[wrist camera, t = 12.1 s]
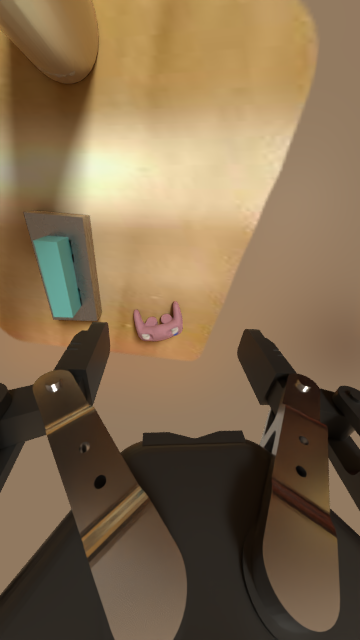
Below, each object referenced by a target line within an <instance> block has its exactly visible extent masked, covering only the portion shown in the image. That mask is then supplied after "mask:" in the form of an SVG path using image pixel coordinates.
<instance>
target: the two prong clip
mask: <svg viewBox="0 0 360 640" xmlns="http://www.w3.org/2000/svg"><path fill="white" fill-rule="evenodd" d="M33 242H34V246H35V250H36V253H37V257H38V261H39V264H40V268H41V272H42V275H43V279H44V282H45V286H46V290H47V293H48V297H49V301H50V304H51V308H52V312H53V315H54V317H68V318H73V317H74V316H75V314H76V313H77V311H78V310H79V309H80V307H81V303H80V297H81V295H80V289H79V288H78V287H77V282H76V276H75V271H74V265H73V260H72V254H73V251H72V245H71V240H69V239H68V237H60V236H44V237H42V238H39V239H36V240H33Z"/></svg>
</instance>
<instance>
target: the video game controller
mask: <svg viewBox="0 0 360 640" xmlns="http://www.w3.org/2000/svg"><path fill="white" fill-rule="evenodd" d="M134 321H135V326H136V330H137V333H138V336H139V337H140V339H141V340H143V341H160V340H165V339H168V338H171V337H173V336H175V335H178V334H180V333H181V332H182V329H183V326H182V315H181V311H180V308H179V305H178V303H177V302H176V301H174V303H173V318H172V317H171V316H170V315H169V314H164V315H162V317H161V321H162V323H163V324H160V325H157V324H158V322H157V319H156V318H155V317H150V318H148V319H147V321H146V323H145V324H144V322H143V321H142V318H141V315H140V313H139V311H138V310H135V311H134Z"/></svg>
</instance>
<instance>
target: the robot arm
mask: <svg viewBox="0 0 360 640" xmlns="http://www.w3.org/2000/svg"><path fill="white" fill-rule="evenodd" d="M0 29H1V30H2V31H3V32H4V34H5V35H6V36H7V37H8V38H9V39H10V40H11V41H12V42H13V43H14V44H15V45H16V46H17V47H18V48H19V49H20V50H21V51H22V52H23V53H24V54H25V55H26V57H27V58H28V59H29V60H30V61H31V62H32V63H33V64H34V65H35V66H36V67H37V68H38V69H39V70H40V71H42V72H43V73H44V74H45V75H46V76H48V77H49V78H51V79H53V80H55V81H57V82H61V83H64V84H73V83H76V82H79V81H81V80H82V79H84V78H85V77H86V76H87V75H88V74H89V72H90V71H91V70H92V67H93V65H94V63H95V61H96V56H97V52H98V40H99V36H98V24H97V19H96V14H95V10H94V7H93V4H92V1H91V0H0ZM109 353H110V339H109V328H108V323H107V322H92V324H91V326H90V328H89V329H88V331H83V330H82V331H81V332H79V333H78V334H77V335H75V336H74V338H73V339H72V341H71V343H70V344H69V346H68V347H67V350H66V351H65V352H64V354H63V356H62V357H61V359H60V360H59V362H58V364H57V365H56V367H55V369H54V370H53V371H51V372H48V373H46V374H44V375H42V376H41V377H39V378H38V379H37V380H36V381H35V383H34V384H33V385H30V386H26V387H21V388H17V389H12V390H8V389H7V387H6V386H5V385H4V384H2V383H0V492H1V490H2V488H3V486H4V484H5V482H6V480H7V478H8V476H9V474H10V472H11V470H12V468H13V465H14V463H15V461H16V459H17V457H18V455H19V453H20V451H21V449H22V447H23V445H24V443H25V441H28V440H31V439H34V438H37V437H40V436H43V435H47V437H48V440H49V443H50V446H51V449H52V452H53V455H54V458H55V461H56V464H57V467H58V470H59V473H60V476H61V479H62V482H63V485H64V488H65V491H66V493H67V497H68V500H69V503H70V506H71V511H70V512H69V513H68V514H67V515H66V517H65V518H64V519H63V520H62V521H61V523H60V524H59V525H58V526H57V527H56V529H55V530H54V531H53V532H52V533H51V535H50V536H49V537H48V538H47V539H46V541H45V542H44V543H43V544H42V545H41V547H40V548H39V549H38V550H37V552H36V553H35V554H34V555H33V556H32V557H31V559H30V560H29V561H28V562H27V564H26V565H25V566H24V567H23V568H22V569H21V571H20V572H19V573H18V574H17V576H16V577H15V578H14V579H13V580H12V582H11V583H10V584H9V585H8V586H7V588H6V589H5V590H4V591H3V592H2V594H1V595H0V640H360V536H359V535H358V534H357V533H356V532H355V531H354V530H353V529H352V528H350V527H349V526H348V525H347V524H346V523H345V522H344V521H343V520H342V519H341V518H340V517H338V515H336V513H334V512H333V511H332V510H331V509H330V498H329V459H330V461H331V462H332V464H333V466H334V468H335V470H336V471H337V473H338V475H339V477H340V478H341V480H342V481H343V483H344V485H345V487H346V488H347V490H348V491H349V493H350V495H351V497H352V498H353V500H354V502H355V504H356V505H357V507H358V509H359V510H360V449H359V448H358V447H357V445H356V444H355V442H354V441H353V440H352V438H351V437H350V435H351V433H352V432H353V431H356V432H357V433H358V434H359V436H360V391H359V390H357V389H355V388H352V387H349V386H340V387H339V388H338V389H337V391H336V392H331V391H327V390H324V389H320V388H319V387H318V385H317V384H316V383H315V382H314V381H313V380H311V379H310V378H308V377H307V376H304V375H302V374H297V373H296V372H295V370H294V369H293V368H292V366H291V365H290V364H289V363H288V361H287V360H286V359H285V357H284V356H283V355H282V353H281V352H280V351H279V349H278V348H277V347H276V346H275V344H274V343H273V342H271V341H270V340H269V339H267V338H265V337H264V336H263V335H262V333H261V332H260V330H256V329H245V330H244V332H243V335H242V338H241V341H240V344H239V347H238V352H237V355H238V359H239V361H240V363H241V365H242V367H243V369H244V372H245V373H246V376H247V378H248V380H249V382H250V384H251V386H252V388H253V390H254V393H255V395H256V397H257V399H258V401H259V403H260V405H270V407H271V409H270V410H269V413H268V416H267V420H266V423H265V427H264V431H263V434H262V438H261V442H260V444H259V445H258V444H256V443H254V442H252V441H249V440H246V439H245V438H244V435H243V432H242V431H218V432H215V433H212V434H208V435H206V436H202V437H199V438H190V437H186V436H182V435H178V434H174V433H170V432H160V433H143V441H141V442H138V443H136V444H133V445H131V446H130V447H128V448H126V449H125V450H123V451H122V452H121V453H120V452H119V450H118V448H117V446H116V444H115V443H114V441H113V439H112V437H111V436H110V434H109V432H108V431H107V429H106V427H105V426H104V424H103V422H102V420H101V418H100V417H99V415H98V413H97V411H96V410H95V408H94V407H93V406H92V405H93V403H94V400H95V397H96V394H97V390H98V387H99V384H100V381H101V378H102V375H103V372H104V369H105V366H106V363H107V359H108V357H109ZM90 405H91V406H90Z"/></svg>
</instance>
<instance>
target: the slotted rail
mask: <svg viewBox="0 0 360 640" xmlns="http://www.w3.org/2000/svg"><path fill="white" fill-rule="evenodd" d="M23 213H24V216H25V220H26V223H27V227H28V231H29V234H30V238H31V241H32V245H33V249H34V252H35V256H36V259H37V263H38V266H39V270H40V274H41V277H42V281H43V284H44V288H45V292H46V295H47V299H48V302H49V306H50V310H51V313H52V317H53V320H81V321H98V319H99V317H100V315H101V313H102V310H101V302H100V294H99V286H98V278H97V270H96V262H95V255H94V247H93V239H92V231H91V223H90V216H89V215H78V214H68V213H57V212H47V211H28V212H23ZM44 236H60V237H68V239H69V240H71V245H72V251H73V256H72V260H73V265H74V271H75V276H76V282H77V287H78V288H79V289H80V295H81V297H80V303H81V307H80V309H79V310H78V311H77V313H76V314H75V316H74V317H73V318H68V317H54V315H53V312H52V308H51V304H50V301H49V297H48V293H47V290H46V286H45V282H44V279H43V275H42V272H41V268H40V264H39V261H38V257H37V253H36V250H35V246H34V242H33V240H36V239H39V238H42V237H44Z"/></svg>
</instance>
